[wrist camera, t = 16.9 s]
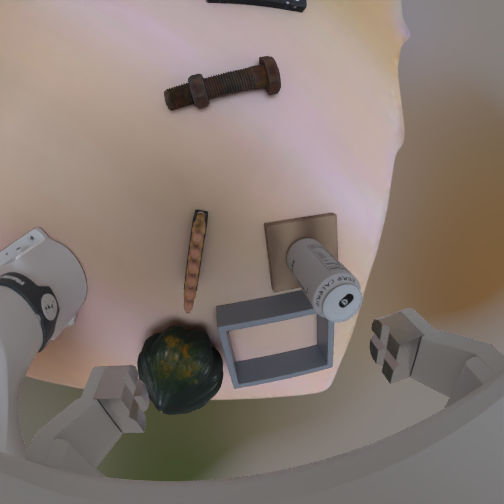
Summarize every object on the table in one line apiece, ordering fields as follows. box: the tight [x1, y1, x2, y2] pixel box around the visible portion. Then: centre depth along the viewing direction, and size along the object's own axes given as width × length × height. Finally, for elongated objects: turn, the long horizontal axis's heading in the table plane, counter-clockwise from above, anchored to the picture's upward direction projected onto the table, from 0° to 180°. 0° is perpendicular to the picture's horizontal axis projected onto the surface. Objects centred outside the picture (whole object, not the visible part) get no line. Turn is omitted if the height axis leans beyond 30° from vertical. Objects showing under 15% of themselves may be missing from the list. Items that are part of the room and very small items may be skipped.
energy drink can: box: [287, 238, 362, 322], centre depth 37 cm, size 6×6×15 cm
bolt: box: [164, 56, 281, 110], centre depth 33 cm, size 6×5×15 cm
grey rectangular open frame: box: [217, 290, 334, 389], centre depth 47 cm, size 18×14×6 cm
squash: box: [137, 325, 223, 415], centre depth 43 cm, size 14×15×15 cm
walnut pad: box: [264, 213, 338, 292], centre depth 45 cm, size 11×11×2 cm
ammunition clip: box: [184, 210, 208, 314], centre depth 37 cm, size 11×2×12 cm, turn 168°
